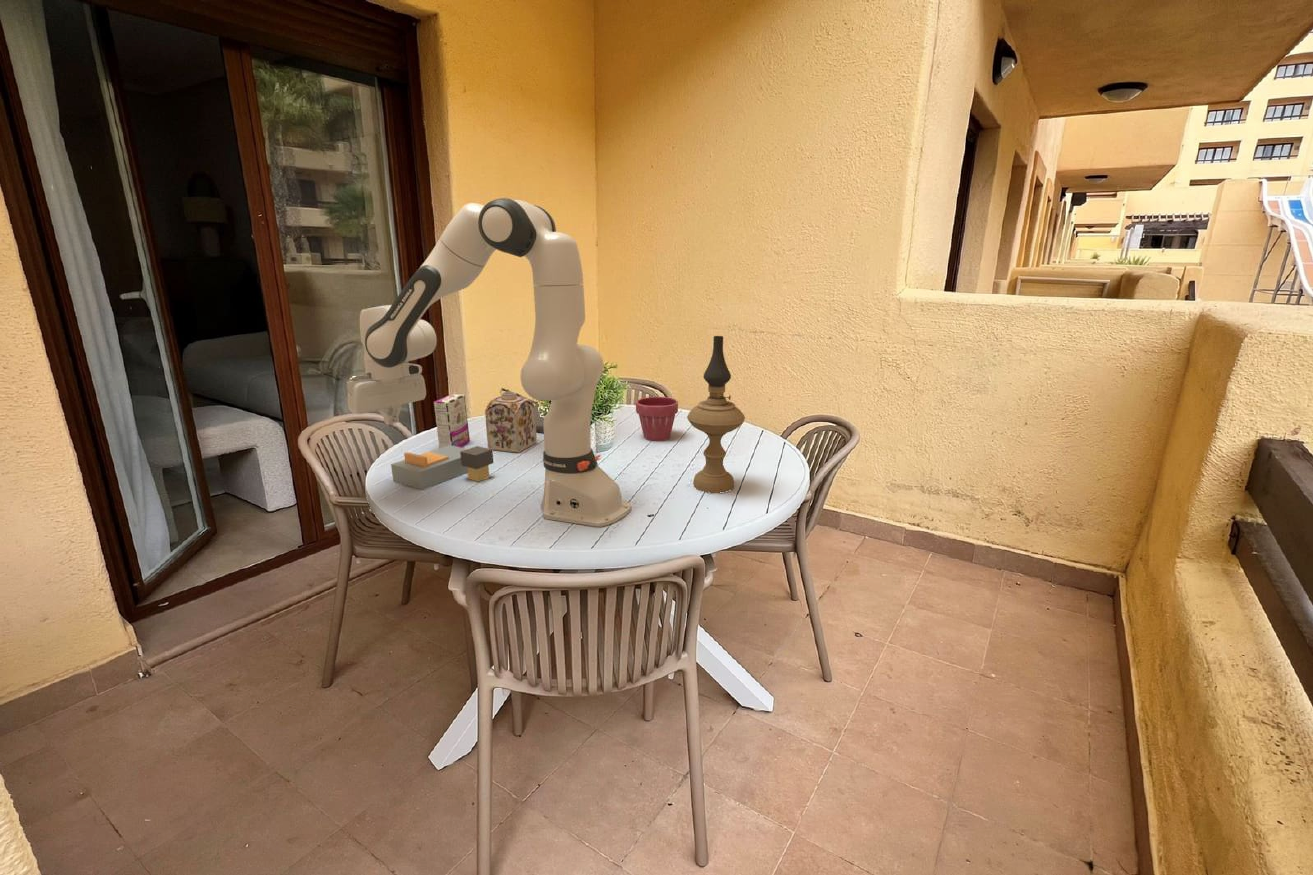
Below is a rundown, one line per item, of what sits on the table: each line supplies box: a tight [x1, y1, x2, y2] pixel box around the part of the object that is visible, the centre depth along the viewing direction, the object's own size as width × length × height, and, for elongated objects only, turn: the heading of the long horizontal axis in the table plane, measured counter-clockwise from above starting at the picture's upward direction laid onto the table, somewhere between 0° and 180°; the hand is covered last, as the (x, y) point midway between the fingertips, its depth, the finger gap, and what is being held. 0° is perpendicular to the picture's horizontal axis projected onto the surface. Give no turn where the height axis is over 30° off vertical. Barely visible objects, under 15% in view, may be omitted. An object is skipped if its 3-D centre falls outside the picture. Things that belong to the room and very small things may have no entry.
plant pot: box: [635, 396, 679, 442], centre depth 198 cm, size 14×14×13 cm
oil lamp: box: [686, 335, 746, 494], centre depth 151 cm, size 15×15×40 cm
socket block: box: [390, 445, 468, 491], centre depth 164 cm, size 12×20×5 cm, turn 150°
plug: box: [460, 445, 494, 482], centre depth 161 cm, size 6×6×8 cm
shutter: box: [403, 451, 449, 467], centre depth 161 cm, size 8×8×3 cm
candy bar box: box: [433, 393, 471, 449], centre depth 187 cm, size 11×5×16 cm, turn 168°
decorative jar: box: [484, 391, 538, 454], centre depth 187 cm, size 12×12×18 cm
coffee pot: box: [499, 387, 544, 433], centre depth 207 cm, size 21×12×15 cm, turn 87°
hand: (392, 423), depth 150 cm, fingers closed
